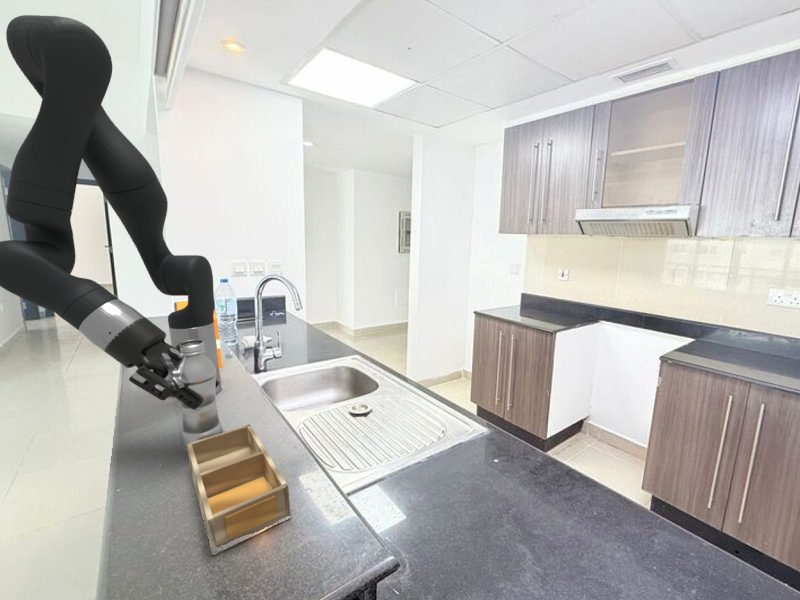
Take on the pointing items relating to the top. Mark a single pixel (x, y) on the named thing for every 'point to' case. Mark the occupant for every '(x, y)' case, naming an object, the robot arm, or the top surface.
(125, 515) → the top surface
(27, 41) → the robot arm
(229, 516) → the tray
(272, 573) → the top surface
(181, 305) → the orange juice
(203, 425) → the plastic bottle
